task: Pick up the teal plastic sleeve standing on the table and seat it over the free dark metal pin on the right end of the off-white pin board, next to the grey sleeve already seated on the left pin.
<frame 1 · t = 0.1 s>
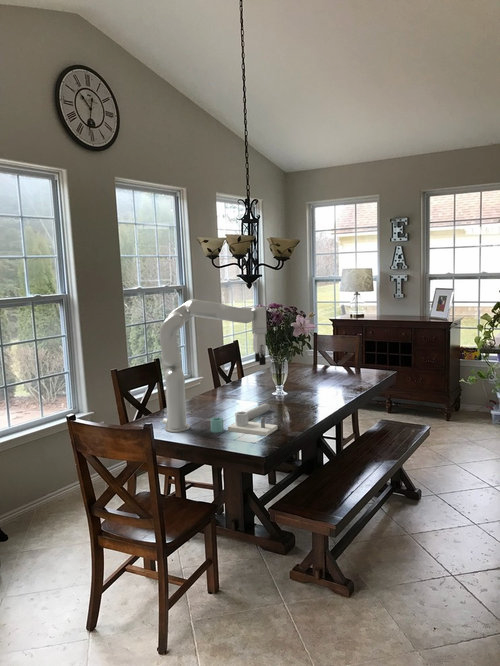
hand: (260, 363, 285), 31 cm above the table, tool pointing down, fingers open, 9 cm apart
tube: (256, 416, 298), on the table
sleeve teal: (217, 430, 274), on the table
pin board: (252, 429, 274), on the table
sleeve grey: (242, 424, 276), point 2 cm above the table, touching pin board
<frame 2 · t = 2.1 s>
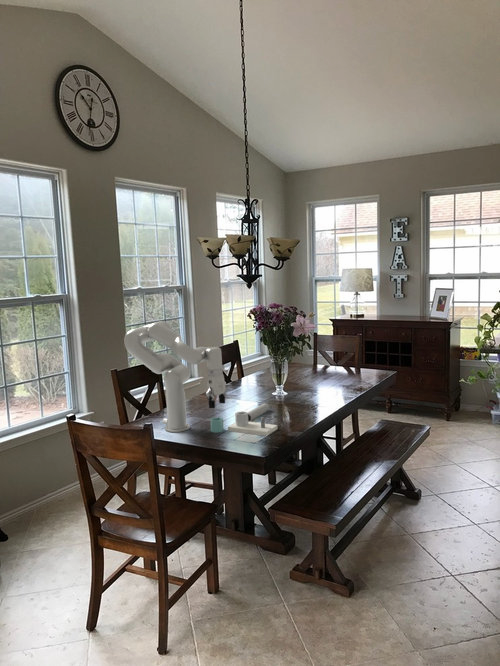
hand: (217, 405, 272), 13 cm above the table, tool pointing down, fingers open, 9 cm apart
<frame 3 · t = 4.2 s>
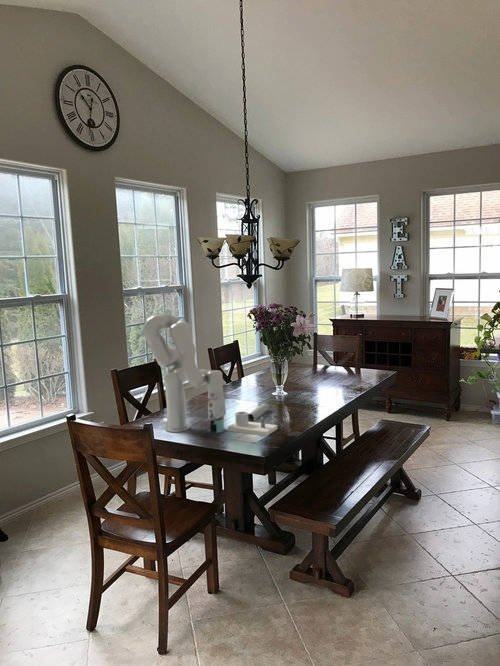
hand: (217, 429, 274), 1 cm above the table, tool pointing down, fingers closed on sleeve teal, 6 cm apart
sleeve teal: (217, 430, 274), on the table, touching gripper
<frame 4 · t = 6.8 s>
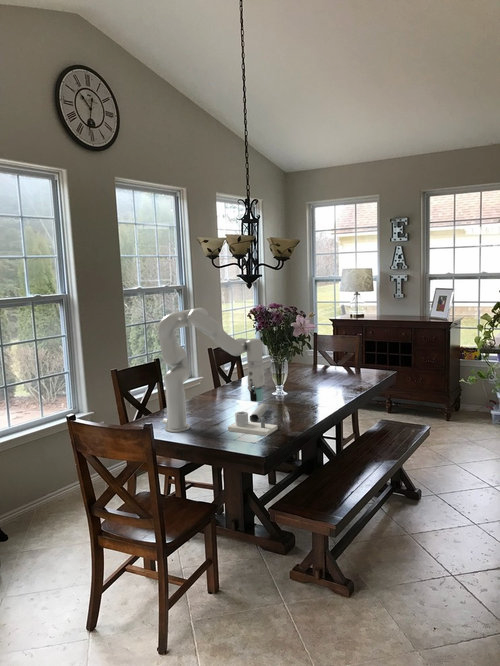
hand: (256, 399, 269), 16 cm above the table, tool pointing down, fingers closed on sleeve teal, 6 cm apart
sleeve teal: (256, 400, 269), point 16 cm above the table, touching gripper
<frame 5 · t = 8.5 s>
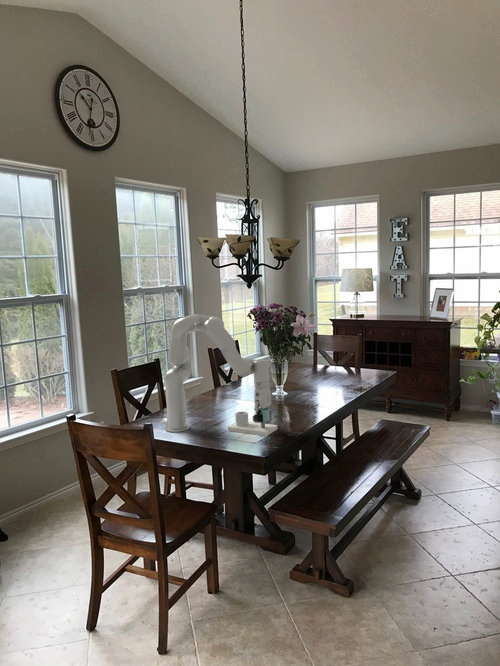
hand: (263, 419, 270), 6 cm above the table, tool pointing down, fingers closed on sleeve teal, 6 cm apart
sleeve teal: (263, 420, 270), point 6 cm above the table, touching gripper
when the fingers open (4 cm above the table, at t = 9.7 s): sleeve teal drops 2 cm, resting on pin board.
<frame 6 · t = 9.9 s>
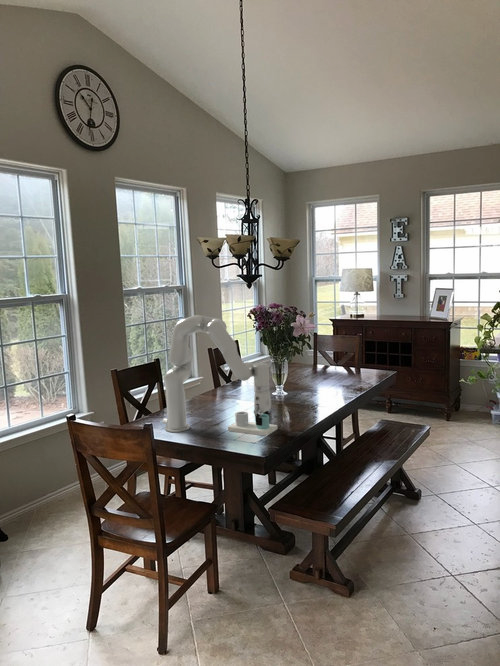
hand: (262, 422, 270), 4 cm above the table, tool pointing down, fingers open, 7 cm apart
sleeve teal: (263, 427, 270), point 2 cm above the table, touching pin board
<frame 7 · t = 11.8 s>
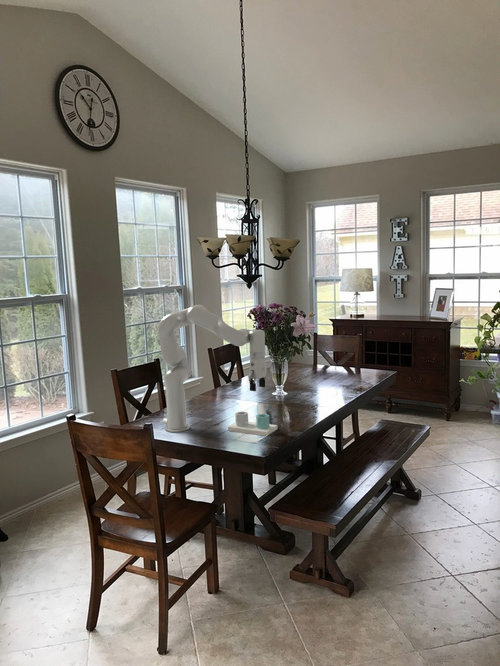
hand: (257, 388, 269), 21 cm above the table, tool pointing down, fingers open, 9 cm apart
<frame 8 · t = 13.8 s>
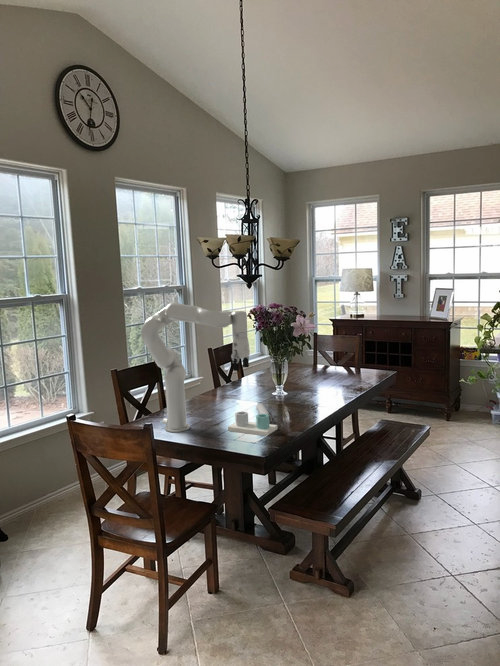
hand: (241, 368, 276), 30 cm above the table, tool pointing down, fingers open, 9 cm apart
at the end: sleeve teal 0.1 cm from the target spot on the pin board, point 2.0 cm above the pin board's base; sleeve teal tilted 0°; the gripper is holding nothing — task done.
